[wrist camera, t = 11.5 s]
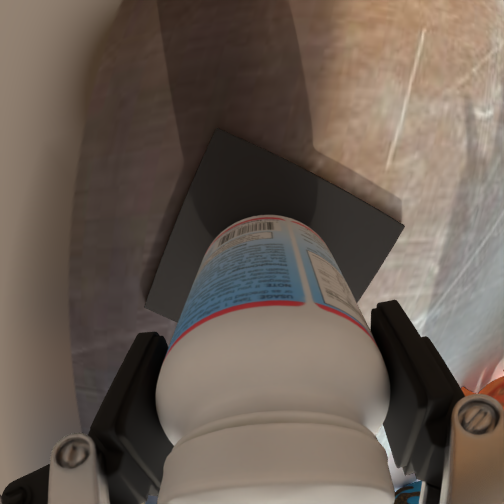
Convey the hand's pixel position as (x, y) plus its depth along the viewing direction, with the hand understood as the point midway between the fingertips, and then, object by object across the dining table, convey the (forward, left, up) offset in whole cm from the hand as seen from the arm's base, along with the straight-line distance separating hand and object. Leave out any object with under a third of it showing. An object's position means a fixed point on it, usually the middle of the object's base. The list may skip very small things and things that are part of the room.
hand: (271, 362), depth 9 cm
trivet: (0, 0, -7) cm, 7 cm away
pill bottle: (0, 0, -6) cm, 6 cm away
